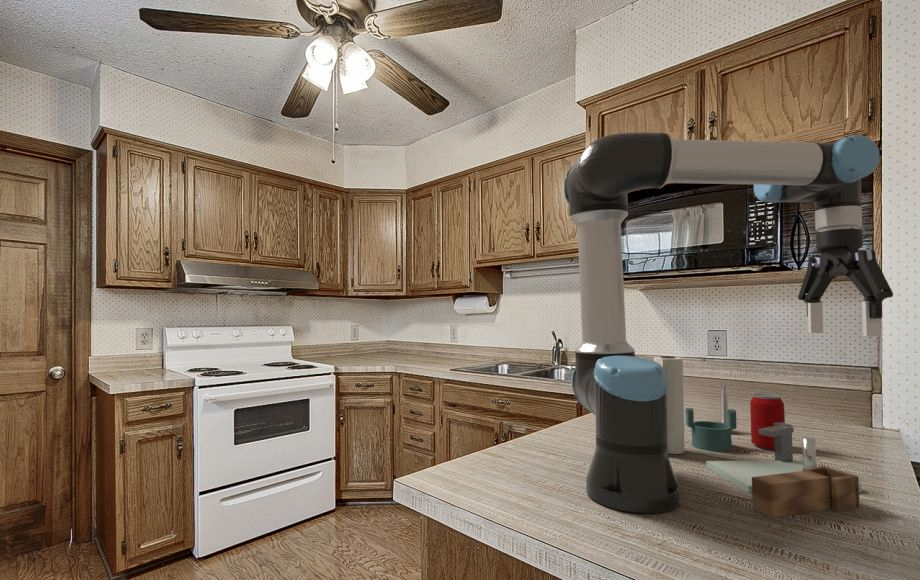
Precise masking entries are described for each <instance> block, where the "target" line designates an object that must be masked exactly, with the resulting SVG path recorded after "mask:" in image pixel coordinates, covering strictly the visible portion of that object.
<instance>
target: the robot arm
mask: <svg viewBox="0 0 920 580" xmlns="http://www.w3.org/2000/svg"><path fill="white" fill-rule="evenodd" d="M879 162H880V149H879V147H878V145H877V144H876V143H875V141H874V140H873V139H871V138H869V137H868V136H865V135H861V134H854V135H849V136H847V137H843V138H840V139H839V138H838V140H836V141H833V142H804V141H803V142H800V141H799V142H798V141H765V140H763V141H761V140H760V141H759V140H758V141H757V140H756V141H755V140H721V139H720V140H718V139H716V140H713V139H683V138H682V139H679V138H677V139H675V138H674V139H673V137H672V136H671V134H669V133H667V132H623V133H614V134H608V135H605V136H601V137H599V138H596V140H594V141H592V142H590V143H589V145H587V146H586V148H585V149H584V150H583V152H582V153H581V154H580V155H579V157H578V158H577V159H576V161H574V162H573V164H572V165H571V166H570V167H569V169H568V171H567V172H566V176H565V178H564V183H563V194H564V199H565V201H566V202H567V205H568V209H569V210H568V211H569V221H571V222H572V224H574V225H575V226H576V227H577V243H578V244H577V245H578V247H577V248H578V269H579V270H578V271H579V293H580V295H579V296H580V313H581V314H580V318H581V319H580V320H581V335H582V336H581V338H582V341H581V343H580V344H579V345H578V346H577V347H576V348H575V351H574V353H575V355H574V356H575V357H574V358H575V367H574V370H573V372H572V375H571V387H572V388H571V389H572V391H573V394H574V396H575V398H576V400H577V402H578V403H579V404H580V406H582V407H583V408H584V409H585V410H586V411H588V412H589V413H591V414H593V415H594V416H595V450H594V453H593V456H592V459H591V462H590V465H589V468H588V472H587V474H586V475H587V476H586V479H585V480H586V481H585V483H586V488H585V490H586V494H587V496H588V497H589V498H590V499H591V500H592V501H595V502H596V503H598V504H599V505H603V506H605V507H608V508H610V509H614V510H619V511H623V512H630V513H636V514H660V513H665V512H669V511H673V510H675V509H676V508H677V507H678V506H679V505H680V499H681V498H680V488H679V484H678V481H677V478H676V475H675V472H674V469H673V466H672V463H671V461H670V459H669V455H668V453H667V403H666V391H667V383H666V378H665V371H664V369H663V367H662V366H661V365H660V364H659V363H657V362H655V361H654V359H653V360H652V359H650V358H649V359H648V358H645V357H644V358H642V357H639V356H636V355H635V354H636V350H635V348H633V347H632V345H631V344H629V343H628V341H627V330H626V329H627V328H626V309H625V307H626V305H625V287H624V284H625V283H624V266H623V265H624V264H623V261H624V260H623V244H622V240H623V239H622V223H623V221H624V220H625V219H626V218H627V217H628V216H629V204H628V203H629V200H628V194H629V193H631V192H634V191H638V190H644V189H645V190H646V189H661V188H663V187H665V185H667V184H717V185H718V184H719V185H720V184H721V185H753V193H754V196H755V197H756V198H757V199H758V200H759V201H761V202H767V203H775V204H778V203H813V204H814V225H815V226H814V227H815V229H814V230H816V231H817V233H816V234H815V248H816V251H818V252H820V257H819V256H810V257H808V260H807V269H806V272H805V273H804V278H803V280H802V284H801V286H800V290H799V292H798V295H797V298H798V300H799V301H803V302H804V303H805V304H806V316H807V322H808V323H807V325H808V326H807V327H808V329H807V330H808V331H807V332H808V333H809V334H824V312H823V310H824V309H823V308H824V307H823V303H822V300H821V298H822V297H823V295H824V294H825V292H826V290H827V289H828V287H829V286H830V284H831V282H832V281H833V280H834V279H836V278H837V277H843V276H845V277H847V278H848V279H849V280H850V281H851V283H852V284H853V285H854V286H855V288H856V289H857V290H858V291H859V293H861V295H862V296H863V297H864V298H863V300H862V302H861V309H862V310H861V311H862V336H863V337H881V336H882V334H881V332H882V331H881V319H882V317H883V302H884V300H885V299H888V298H893V297H894V293H893V290H892V288H891V286H890V285H889V283H888V280H887V279H886V277H885V274H884V272H883V270H882V269H881V267H880V265H879V263H878V261H877V256H876V251H875V250H874V249H861V248H863V247H864V236H863V235H864V234H863V230H862V229H860V228H861V227H862V226H863V214H862V210H863V209H862V179H863V178H866V177H868V176H869V175H871V174H872V173H873V172H874V171H875V170H876V169H877V168H878V166H879Z"/></svg>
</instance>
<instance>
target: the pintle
mask: <svg viewBox="0 0 920 580" xmlns="http://www.w3.org/2000/svg"><path fill="white" fill-rule="evenodd" d="M801 442H802V443H801V444H802V445H801V447H802V460H803V468H810V467H816V466H817V451H816V450H817V449H816V447H817V446H816V439H815V438H814V437H808V436H802V437H801Z"/></svg>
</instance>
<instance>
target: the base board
mask: <svg viewBox="0 0 920 580" xmlns="http://www.w3.org/2000/svg"><path fill="white" fill-rule="evenodd" d="M705 464H706V468H708V469H709V470H711V471H712V472H714V473H716V474H717V475H719V476H720V477H722V478H723V479H725V480H727V481H729V482H730V483H732V484H733V485H735V486H736V487H739V488H740V489H742V490H743V491H745V492H746V493H748V494H752V477H757V476H766V475H774V474H782V473H791V472H799V471H803V459H800V460H799V459H798V460H793V462H782V461H775V460H706V463H705ZM816 467H818V466H817V465H816ZM859 493H862V484H859Z"/></svg>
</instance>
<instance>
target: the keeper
mask: <svg viewBox="0 0 920 580" xmlns="http://www.w3.org/2000/svg"><path fill="white" fill-rule="evenodd" d="M794 432H795V431H794V426H792V424H790V423H787V422H785V423H784V422H776V423H774V426H772V427H766V428H761V429H759V434H760V435H765V436H769V437H774V443H775V450H774V461H782V462H793V461H794V458H793V457H794V456H793V454H794V453H793V452H794V451H793V433H794Z"/></svg>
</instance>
